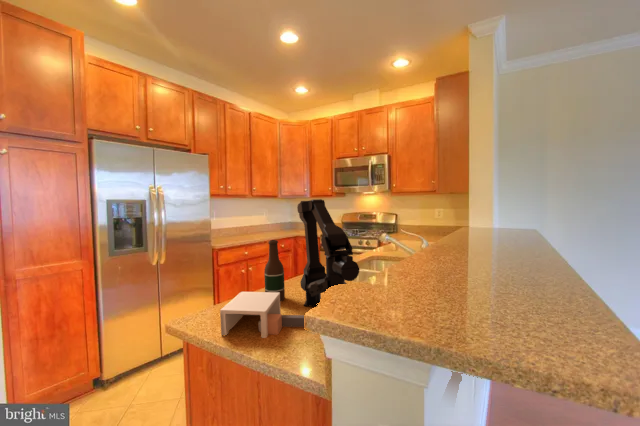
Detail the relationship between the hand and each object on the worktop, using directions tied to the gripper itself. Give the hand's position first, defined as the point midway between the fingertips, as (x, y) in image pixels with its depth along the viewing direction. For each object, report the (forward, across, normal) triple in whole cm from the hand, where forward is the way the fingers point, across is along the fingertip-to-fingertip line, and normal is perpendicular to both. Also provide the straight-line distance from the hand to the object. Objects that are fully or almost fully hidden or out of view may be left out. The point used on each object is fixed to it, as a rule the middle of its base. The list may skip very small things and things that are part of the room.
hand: (336, 320), depth 90 cm
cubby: (+2, 0, -27) cm, 27 cm away
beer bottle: (+2, -22, -26) cm, 34 cm away
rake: (+2, +2, -14) cm, 15 cm away
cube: (+2, +4, -19) cm, 20 cm away
